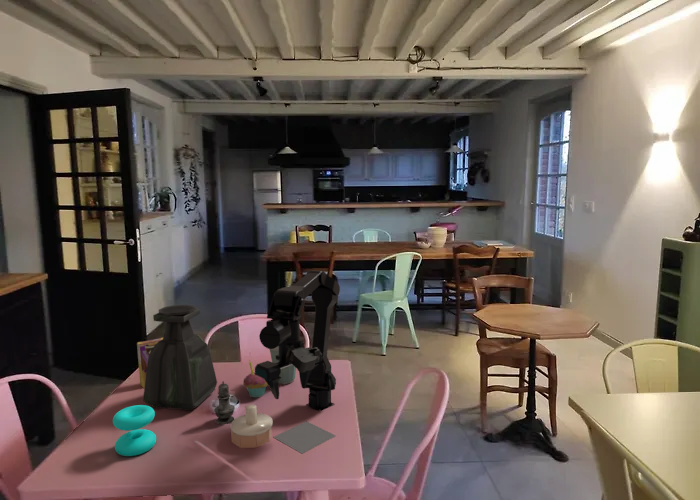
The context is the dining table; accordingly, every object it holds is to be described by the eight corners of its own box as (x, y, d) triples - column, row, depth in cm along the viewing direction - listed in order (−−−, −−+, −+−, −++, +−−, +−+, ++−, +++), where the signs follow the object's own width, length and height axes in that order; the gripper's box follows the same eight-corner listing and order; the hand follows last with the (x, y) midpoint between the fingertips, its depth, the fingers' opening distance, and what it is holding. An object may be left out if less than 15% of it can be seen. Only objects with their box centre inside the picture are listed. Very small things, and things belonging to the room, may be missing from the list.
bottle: (219, 391, 160) (215, 303, 156) (195, 414, 144) (190, 316, 140) (170, 388, 163) (165, 301, 159) (141, 409, 147) (134, 314, 143)
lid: (256, 412, 136) (256, 394, 135) (280, 425, 128) (280, 406, 128) (222, 426, 128) (221, 407, 127) (246, 440, 120) (245, 420, 120)
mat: (306, 423, 137) (306, 421, 137) (336, 437, 129) (336, 435, 129) (273, 439, 129) (273, 437, 129) (302, 455, 121) (302, 453, 120)
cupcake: (247, 401, 152) (246, 365, 150) (240, 391, 159) (239, 357, 158) (273, 396, 156) (272, 360, 154) (265, 386, 163) (264, 352, 162)
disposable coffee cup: (297, 386, 163) (296, 344, 161) (266, 387, 163) (264, 344, 161) (301, 374, 173) (300, 334, 171) (271, 375, 173) (270, 334, 171)
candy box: (165, 378, 171) (163, 336, 170) (169, 381, 168) (167, 339, 166) (139, 384, 166) (136, 341, 164) (142, 388, 163) (139, 345, 161)
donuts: (139, 400, 131) (162, 408, 126) (141, 434, 132) (164, 444, 127) (104, 414, 122) (127, 424, 117) (107, 451, 124) (130, 462, 118)
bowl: (256, 426, 136) (256, 413, 135) (278, 439, 129) (277, 425, 128) (225, 440, 129) (224, 426, 128) (247, 454, 122) (246, 439, 121)
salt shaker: (229, 426, 136) (228, 385, 135) (210, 424, 137) (208, 384, 136) (238, 416, 142) (237, 377, 140) (220, 414, 143) (218, 376, 142)
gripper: (279, 352, 114) (281, 415, 116) (335, 335, 127) (336, 391, 129) (252, 342, 121) (254, 401, 123) (307, 327, 135) (309, 380, 137)
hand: (290, 393), depth 128 cm, fingers open, 9 cm apart
